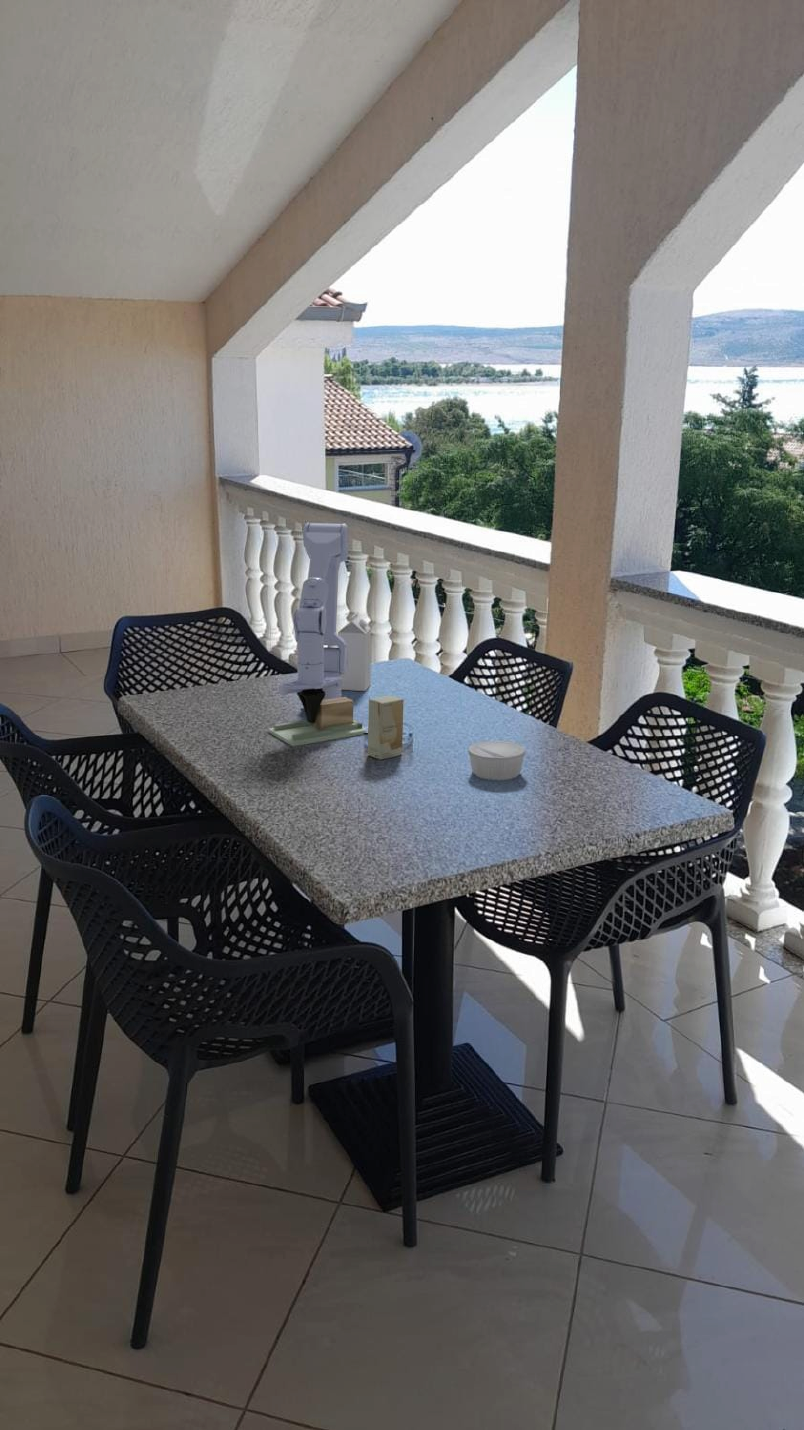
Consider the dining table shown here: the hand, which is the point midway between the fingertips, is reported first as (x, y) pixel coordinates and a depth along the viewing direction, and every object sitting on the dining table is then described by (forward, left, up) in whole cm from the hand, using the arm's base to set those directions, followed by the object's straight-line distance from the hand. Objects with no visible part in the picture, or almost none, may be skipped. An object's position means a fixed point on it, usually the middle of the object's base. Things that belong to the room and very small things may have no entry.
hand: (311, 722), depth 245 cm
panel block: (0, +6, -2) cm, 6 cm away
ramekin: (+42, +19, -3) cm, 46 cm away
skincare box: (+21, +6, -3) cm, 22 cm away
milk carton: (-30, +28, -3) cm, 41 cm away
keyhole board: (0, +2, -3) cm, 4 cm away
